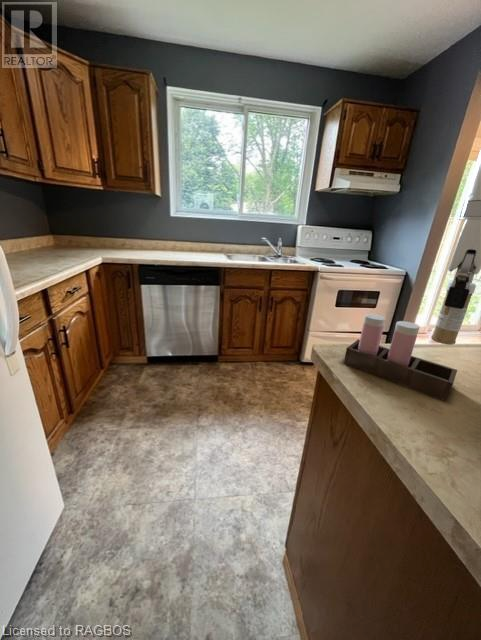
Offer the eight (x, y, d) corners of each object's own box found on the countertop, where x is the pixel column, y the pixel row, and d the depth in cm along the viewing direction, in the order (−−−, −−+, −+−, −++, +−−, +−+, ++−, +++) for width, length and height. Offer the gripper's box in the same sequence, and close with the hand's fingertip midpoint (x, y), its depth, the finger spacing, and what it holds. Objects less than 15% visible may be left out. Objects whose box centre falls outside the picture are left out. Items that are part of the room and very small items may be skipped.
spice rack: (451, 386, 65) (457, 369, 63) (446, 401, 59) (453, 383, 57) (355, 353, 79) (358, 339, 78) (343, 363, 73) (346, 347, 72)
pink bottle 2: (407, 372, 69) (421, 324, 65) (402, 379, 66) (417, 330, 61) (387, 365, 72) (399, 319, 68) (381, 371, 69) (394, 324, 64)
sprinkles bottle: (428, 335, 63) (446, 278, 59) (452, 339, 62) (472, 281, 57) (433, 343, 59) (452, 282, 55) (458, 347, 58) (480, 285, 53)
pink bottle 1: (377, 361, 74) (388, 316, 69) (371, 368, 70) (382, 321, 66) (359, 355, 77) (368, 312, 72) (352, 361, 73) (362, 316, 69)
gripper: (465, 214, 60) (440, 294, 66) (456, 209, 48) (426, 308, 54) (511, 215, 55) (479, 301, 61) (514, 210, 43) (474, 318, 49)
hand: (455, 303), depth 57 cm, fingers closed on sprinkles bottle, 4 cm apart
